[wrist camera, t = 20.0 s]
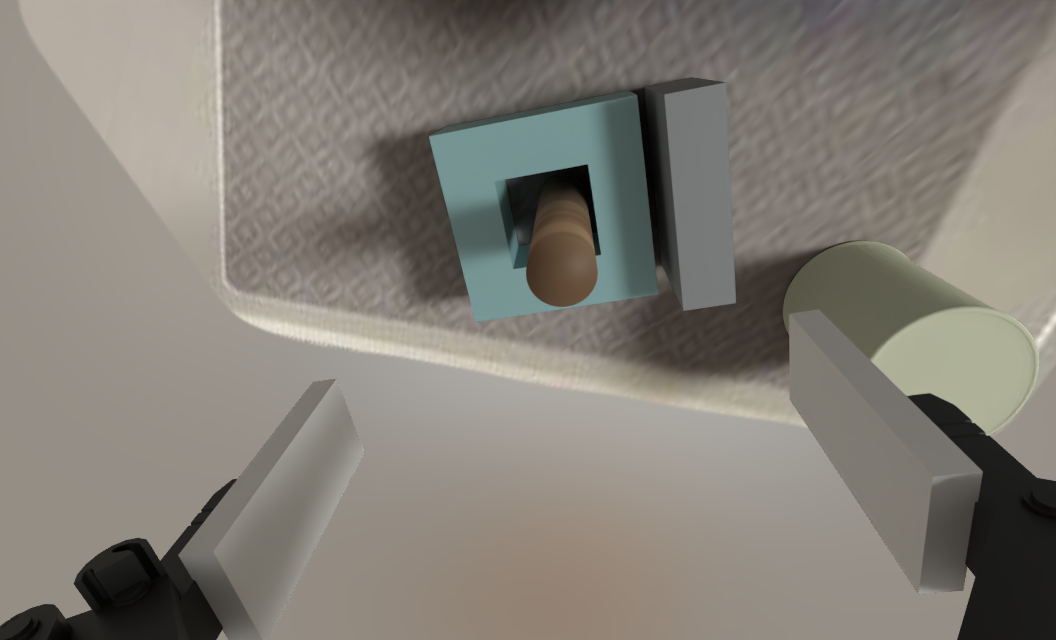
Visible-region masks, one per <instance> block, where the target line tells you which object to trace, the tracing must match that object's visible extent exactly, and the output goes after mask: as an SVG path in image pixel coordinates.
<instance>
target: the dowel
mask: <svg viewBox="0 0 1056 640" xmlns="http://www.w3.org/2000/svg"><path fill="white" fill-rule="evenodd" d="M597 277H598V269H597V262H596V256H595V249H594V243H593V237H592V230H591V224H590V217H589V211H588V205H587V198H586V192H585V189H584V187H583V185H582V184H581V183H580V182H579V181H578V180H577V179H576V178H574V177H572V176H569V175H557V176H554V177H552V178H550V179H549V180H548V181H547V182H546V183H545V184H544V185H543V187H542V189H541V191H540V196H539V201H538V207H537V212H536V218H535V223H534V229H533V234H532V240H531V245H530V251H529V256H528V262H527V268H526V279H527V283H528V286H529V288H530V290H531V291H532V293H533V294H534V295H535V296H536V297H537V298H538V299H539V300H541V301H542V302H544V303H546V304H548V305H551V306H556V307H568V306H572V305H575V304H578V303H580V302H581V301H583V300H584V299H585V298H587V297H588V296H589V295H590V294H591V292H592V291H593V289H594V287H595V285H596V282H597Z"/></svg>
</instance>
